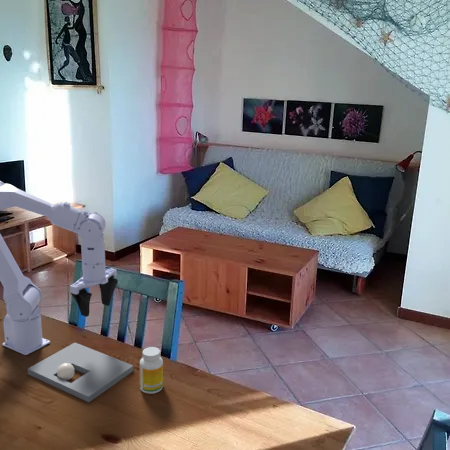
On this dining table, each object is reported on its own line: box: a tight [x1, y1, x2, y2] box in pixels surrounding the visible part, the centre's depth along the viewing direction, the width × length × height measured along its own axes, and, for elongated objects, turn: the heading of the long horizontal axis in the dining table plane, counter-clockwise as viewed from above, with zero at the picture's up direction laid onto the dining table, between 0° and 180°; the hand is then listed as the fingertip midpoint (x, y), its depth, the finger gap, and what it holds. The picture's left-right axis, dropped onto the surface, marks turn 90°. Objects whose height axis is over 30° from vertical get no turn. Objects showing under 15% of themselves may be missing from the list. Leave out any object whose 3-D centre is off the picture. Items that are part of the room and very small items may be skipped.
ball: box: [57, 363, 76, 381], centre depth 119 cm, size 4×4×4 cm
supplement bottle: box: [139, 346, 164, 395], centre depth 117 cm, size 5×5×10 cm
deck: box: [27, 342, 134, 403], centre depth 123 cm, size 20×15×2 cm
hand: (95, 309), depth 132 cm, fingers open, 7 cm apart
